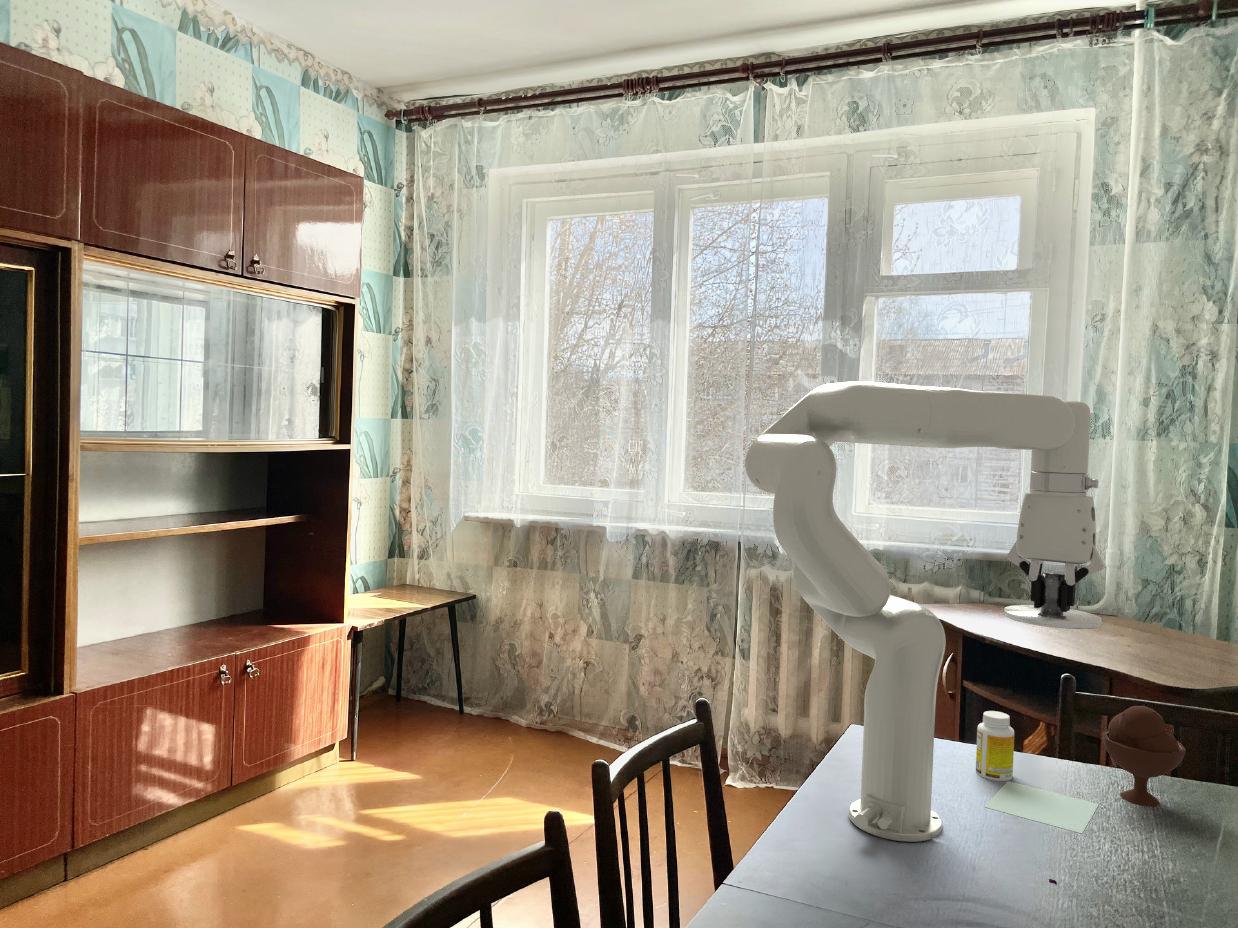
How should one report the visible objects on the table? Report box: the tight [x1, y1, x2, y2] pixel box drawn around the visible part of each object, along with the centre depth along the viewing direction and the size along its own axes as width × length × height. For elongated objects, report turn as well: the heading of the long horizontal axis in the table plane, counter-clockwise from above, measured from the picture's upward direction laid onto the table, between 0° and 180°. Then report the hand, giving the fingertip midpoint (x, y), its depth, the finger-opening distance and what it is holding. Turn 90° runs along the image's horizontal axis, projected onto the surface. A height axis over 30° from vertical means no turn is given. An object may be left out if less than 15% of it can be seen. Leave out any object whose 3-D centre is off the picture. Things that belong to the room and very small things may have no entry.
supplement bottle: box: [975, 710, 1015, 782], centre depth 143 cm, size 6×6×10 cm
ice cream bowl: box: [1101, 705, 1187, 808], centre depth 135 cm, size 11×11×15 cm
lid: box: [1003, 571, 1103, 630], centre depth 131 cm, size 13×13×7 cm
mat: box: [984, 780, 1100, 835], centre depth 132 cm, size 13×13×1 cm
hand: (1052, 607), depth 131 cm, fingers closed on lid, 3 cm apart
